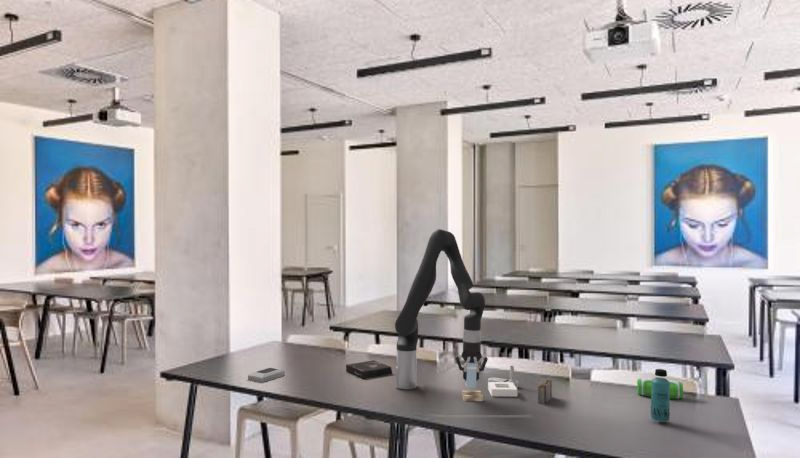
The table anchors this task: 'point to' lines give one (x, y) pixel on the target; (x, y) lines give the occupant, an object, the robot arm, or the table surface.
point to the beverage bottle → (660, 396)
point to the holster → (472, 396)
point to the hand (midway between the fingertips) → (471, 380)
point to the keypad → (266, 374)
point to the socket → (502, 389)
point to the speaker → (646, 388)
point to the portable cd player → (368, 369)
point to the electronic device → (506, 379)
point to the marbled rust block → (544, 391)
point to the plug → (471, 375)
